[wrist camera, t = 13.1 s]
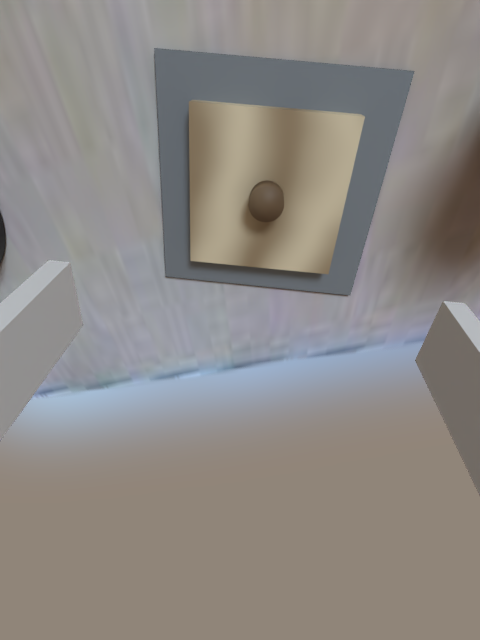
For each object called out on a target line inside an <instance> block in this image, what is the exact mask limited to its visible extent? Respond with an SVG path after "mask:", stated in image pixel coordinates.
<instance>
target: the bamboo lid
mask: <svg viewBox="0 0 480 640" xmlns="http://www.w3.org/2000/svg"><path fill="white" fill-rule="evenodd" d="M364 119H365V116H363V115H361V114H354V113H342V112H330V111H319V110H307V109H295V108H284V107H272V106H260V105H249V104H237V103H225V102H214V101H202V100H191V101H189V167H190V257H191V261H197V262H207V263H217V264H227V265H238V266H248V267H258V268H269V269H279V270H289V271H299V272H310V273H320V274H329V270H330V266H331V261H332V257H333V253H334V248H335V244H336V240H337V235H338V231H339V227H340V222H341V218H342V214H343V210H344V205H345V201H346V197H347V192H348V188H349V184H350V179H351V175H352V171H353V167H354V162H355V158H356V154H357V149H358V145H359V141H360V136H361V132H362V128H363V123H364Z"/></svg>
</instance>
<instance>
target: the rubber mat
mask: <svg viewBox="0 0 480 640" xmlns="http://www.w3.org/2000/svg"><path fill="white" fill-rule="evenodd" d="M154 50H155V70H156V90H157V110H158V130H159V150H160V170H161V190H162V211H163V231H164V251H165V271H166V276H167V277H176V278H186V279H196V280H206V281H215V282H225V283H235V284H244V285H254V286H264V287H274V288H283V289H293V290H303V291H312V292H322V293H332V294H342V295H350V294H351V291H352V287H353V284H354V280H355V277H356V273H357V270H358V266H359V263H360V259H361V256H362V252H363V249H364V245H365V242H366V238H367V235H368V231H369V228H370V224H371V221H372V217H373V214H374V210H375V207H376V203H377V200H378V196H379V193H380V189H381V186H382V182H383V179H384V176H385V172H386V169H387V165H388V162H389V158H390V155H391V151H392V148H393V144H394V141H395V137H396V134H397V130H398V127H399V123H400V120H401V116H402V113H403V109H404V106H405V102H406V99H407V95H408V92H409V88H410V85H411V81H412V78H413V74H414V71H407V70H395V69H384V68H373V67H361V66H350V65H339V64H328V63H316V62H305V61H294V60H282V59H271V58H260V57H248V56H237V55H226V54H214V53H203V52H192V51H181V50H169V49H158V48H154ZM191 100H202V101H214V102H225V103H237V104H249V105H260V106H272V107H284V108H295V109H307V110H319V111H330V112H342V113H354V114H361V115H363V116H365V119H364V123H363V128H362V132H361V136H360V141H359V145H358V149H357V154H356V158H355V162H354V167H353V171H352V175H351V179H350V184H349V188H348V192H347V197H346V201H345V205H344V210H343V214H342V218H341V222H340V227H339V231H338V235H337V240H336V244H335V248H334V253H333V257H332V261H331V266H330V270H329V274H320V273H310V272H299V271H289V270H279V269H269V268H258V267H248V266H238V265H227V264H217V263H207V262H197V261H191V257H190V167H189V101H191Z"/></svg>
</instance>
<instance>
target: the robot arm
mask: <svg viewBox="0 0 480 640" xmlns="http://www.w3.org/2000/svg"><path fill="white" fill-rule="evenodd" d="M4 249H5V232H4V226H3V221H2V217H1V214H0V262H1V260H2V258H3V254H4ZM82 326H83V321H82V317H81V312H80V307H79V302H78V298H77V293H76V288H75V283H74V278H73V274H72V269H71V264H70V262H62V261H52V260H48V261H47V262H46V263H45V264H44V265H43V266H42V267H40V268H39V269H38V270H37V271H36V272H35V273H34V274H33V275H31V276H30V277H29V278H28V279H27V280H26V281H25V282H24V283H22V284H21V285H20V286H19V287H18V288H17V289H16V290H15V291H13V292H12V293H11V294H10V295H9V296H8V297H7V298H6V299H4V300H3V301H2V302H1V303H0V441H1V440H2V438H3V437H4V435H5V434H6V432H7V431H8V430H9V428H10V427H11V426H12V424H13V423H14V421H15V420H16V419H17V417H18V416H19V414H20V413H21V412H22V410H23V408H24V407H25V406H26V405H27V403H28V402H29V400H30V399H31V398H32V396H33V395H34V393H35V392H36V391H37V389H38V388H39V386H40V385H41V384H42V382H43V381H44V379H45V378H46V377H47V375H48V374H49V372H50V371H51V370H52V368H53V367H54V365H55V364H56V363H57V361H58V360H59V359H60V357H61V356H62V354H63V353H64V352H65V350H66V349H67V347H68V346H69V345H70V343H71V342H72V340H73V339H74V338H75V336H76V335H77V333H78V332H79V331H80V329H81V328H82ZM415 361H416V363H417V365H418V367H419V370H420V372H421V373H422V376H423V378H424V380H425V382H426V384H427V386H428V388H429V391H430V392H431V395H432V397H433V399H434V401H435V403H436V405H437V407H438V409H439V411H440V414H441V416H442V417H443V420H444V422H445V424H446V426H447V428H448V430H449V432H450V435H451V437H452V439H453V441H454V443H455V445H456V447H457V449H458V451H459V453H460V456H461V458H462V460H463V462H464V464H465V466H466V468H467V470H468V472H469V474H470V476H471V479H472V481H473V483H474V485H475V487H476V489H477V491H478V493H479V495H480V321H479V320H478V319H477V318H476V316H475V315H474V314H473V312H472V311H471V310H470V309H469V307H468V306H467V305H466V304H465V303H457V302H447V301H443V302H442V305H441V307H440V309H439V311H438V313H437V315H436V317H435V319H434V322H433V324H432V326H431V328H430V330H429V332H428V334H427V336H426V338H425V341H424V343H423V345H422V347H421V349H420V351H419V353H418V355H417V358H416V360H415Z"/></svg>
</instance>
